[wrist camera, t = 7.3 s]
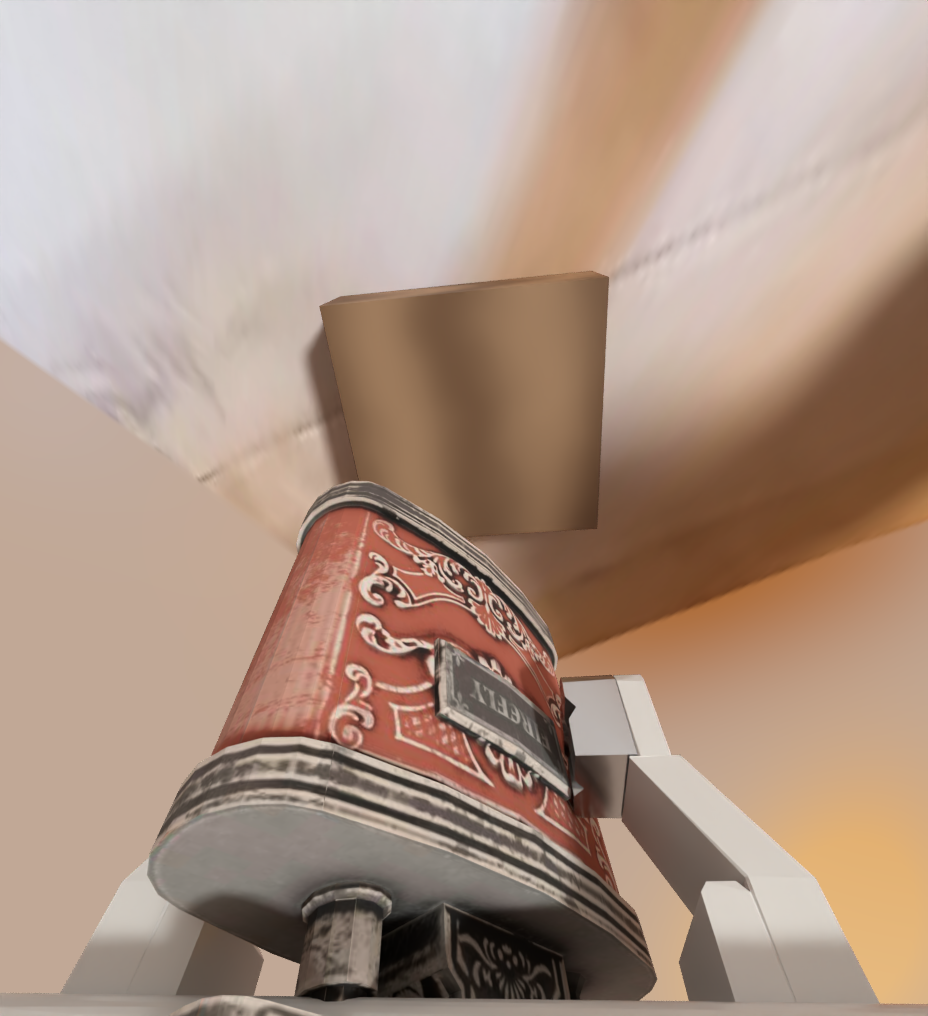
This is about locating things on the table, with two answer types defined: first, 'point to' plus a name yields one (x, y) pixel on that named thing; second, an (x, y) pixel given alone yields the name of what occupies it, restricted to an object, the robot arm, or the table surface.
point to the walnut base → (478, 398)
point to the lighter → (399, 786)
